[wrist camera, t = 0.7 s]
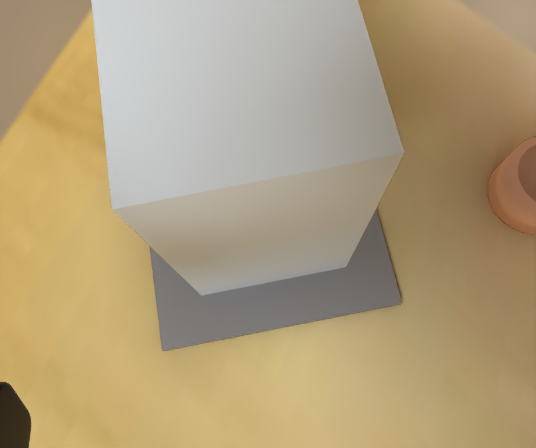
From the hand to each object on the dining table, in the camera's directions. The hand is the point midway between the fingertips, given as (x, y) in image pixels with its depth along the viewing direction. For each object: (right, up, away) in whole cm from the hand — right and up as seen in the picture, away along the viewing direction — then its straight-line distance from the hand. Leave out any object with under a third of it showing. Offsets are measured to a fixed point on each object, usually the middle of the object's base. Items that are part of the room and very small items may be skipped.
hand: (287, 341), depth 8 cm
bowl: (+12, +3, +16) cm, 20 cm away
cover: (-1, +2, +16) cm, 16 cm away
